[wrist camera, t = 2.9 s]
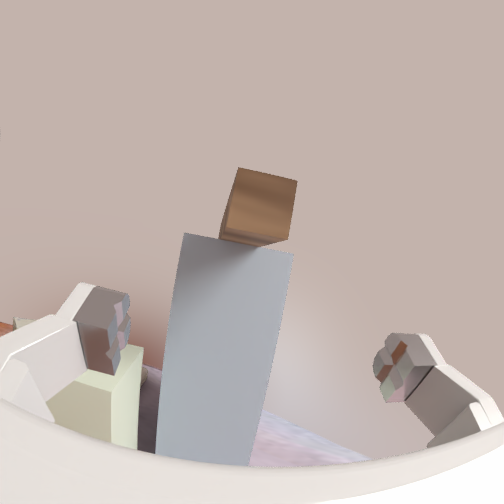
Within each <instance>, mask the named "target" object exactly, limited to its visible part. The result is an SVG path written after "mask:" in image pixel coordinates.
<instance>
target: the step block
mask: <svg viewBox="0 0 504 504" xmlns="http://www.w3.org/2000/svg"><path fill="white" fill-rule="evenodd" d="M143 349H144V348H143V347H138V346H134V345H130V344H126V347H125V348H124V349H122V350H121V351H120V355H121V360H120V363H119V365H118V368H117V370H116V373H115V376H113V375H109V374H105V373H101V372H97V371H93V370H90V369H87V371H86V372H85V373H83V374H82V375H81V376H79V377H78V378H77V379H75V380H74V381H73V382H71V383H70V384H69V385H67V386H66V387H65V388H63V389H62V390H61V391H59V392H58V393H57V394H55V395H54V396H53V397H51V398H50V399H49V400H48V401H46V402H45V403H46V404H47V406H48V408H49V410H50V412H51V413H52V415H53V417H54V420H55V422H54V423H55V424H58V425H60V426H63V427H65V428H68V429H71V430H73V431H76V432H79V433H82V434H84V435H87V436H90V437H93V438H96V439H100V440H103V441H106V442H109V443H113V444H116V445H120V446H124V447H127V448H131V449H135V450H137V436H138V412H139V395H140V382H141V370H142V359H143Z"/></svg>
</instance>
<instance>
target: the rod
mask: <svg viewBox="0 0 504 504" xmlns="http://www.w3.org/2000/svg"><path fill="white" fill-rule="evenodd" d="M296 187H297V181H296V180H292V179H288V178H284V177H279V176H275V175H271V174H267V173H262V172H258V171H253V170H249V169H244V168H238V170H237V174H236V177H235V180H234V183H233V186H232V190H231V193H230V196H229V199H228V203H227V206H226V209H225V213H224V216H223V219H222V223H221V227H220V232H219V238H218V239H220V240H225V241H230V242H236V243H241V244H246V245H251V246H256V247H261V246H265V245H269V244H272V243H277V242H280V241H284V240H288V236H289V229H290V223H291V218H292V212H293V205H294V200H295V193H296Z"/></svg>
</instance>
